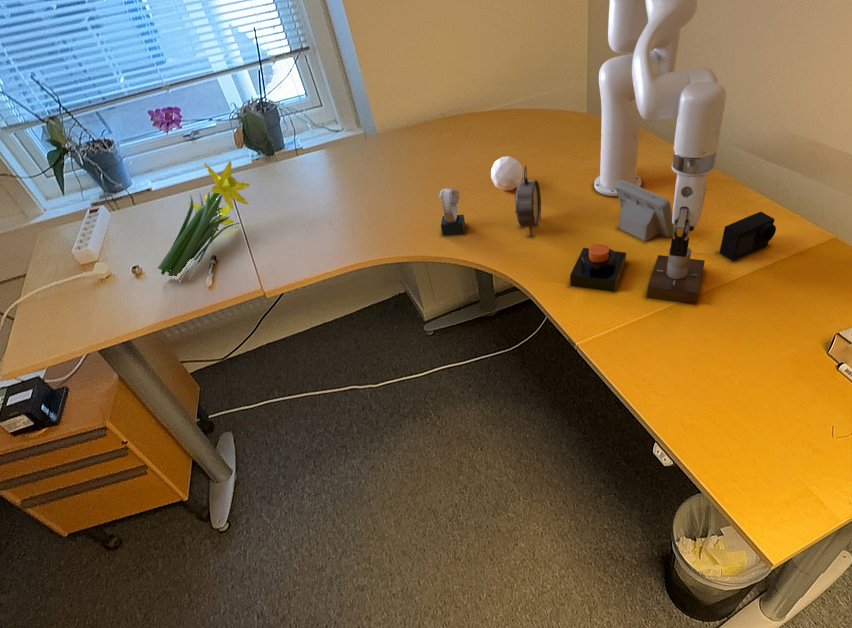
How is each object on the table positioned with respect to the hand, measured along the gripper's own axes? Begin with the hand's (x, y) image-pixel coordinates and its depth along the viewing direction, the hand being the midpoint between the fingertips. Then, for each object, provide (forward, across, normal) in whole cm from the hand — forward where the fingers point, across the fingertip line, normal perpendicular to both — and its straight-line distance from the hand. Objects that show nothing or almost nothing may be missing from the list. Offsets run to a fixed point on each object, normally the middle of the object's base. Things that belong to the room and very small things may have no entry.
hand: (681, 242), depth 117 cm
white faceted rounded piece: (+10, +36, +52) cm, 64 cm away
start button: (+6, 0, +17) cm, 18 cm away
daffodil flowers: (+10, -11, +119) cm, 120 cm away
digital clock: (+11, +21, +11) cm, 26 cm away
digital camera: (+11, +16, -13) cm, 23 cm away
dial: (+8, 0, 0) cm, 8 cm away
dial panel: (+11, 0, 0) cm, 11 cm away
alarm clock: (+10, +16, +39) cm, 44 cm away
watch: (+10, +11, +58) cm, 60 cm away
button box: (+11, 0, +17) cm, 20 cm away
